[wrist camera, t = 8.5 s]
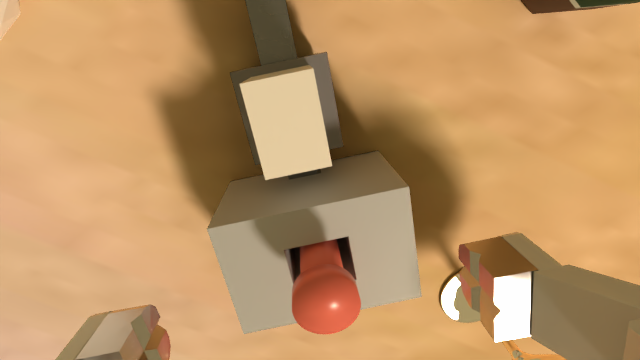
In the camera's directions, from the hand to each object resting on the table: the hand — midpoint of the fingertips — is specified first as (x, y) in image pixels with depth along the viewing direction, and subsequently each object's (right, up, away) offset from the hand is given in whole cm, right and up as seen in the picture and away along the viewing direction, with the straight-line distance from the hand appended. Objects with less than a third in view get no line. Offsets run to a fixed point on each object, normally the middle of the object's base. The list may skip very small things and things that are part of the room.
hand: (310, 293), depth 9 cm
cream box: (-2, +9, +17) cm, 19 cm away
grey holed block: (0, 0, +20) cm, 20 cm away
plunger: (0, -1, +17) cm, 17 cm away
